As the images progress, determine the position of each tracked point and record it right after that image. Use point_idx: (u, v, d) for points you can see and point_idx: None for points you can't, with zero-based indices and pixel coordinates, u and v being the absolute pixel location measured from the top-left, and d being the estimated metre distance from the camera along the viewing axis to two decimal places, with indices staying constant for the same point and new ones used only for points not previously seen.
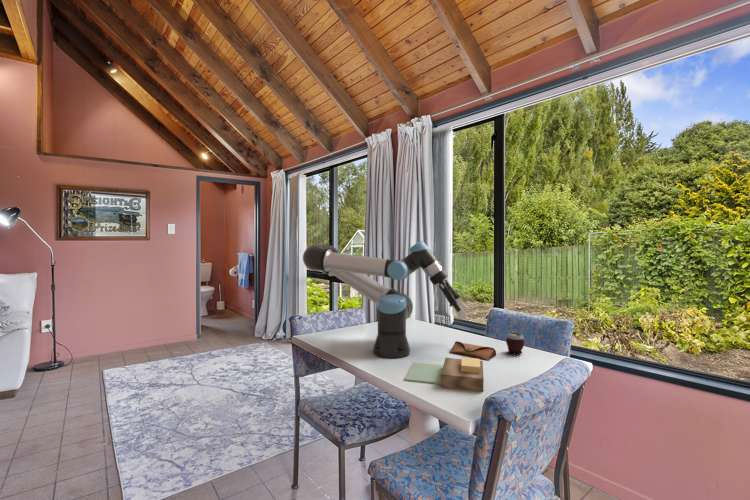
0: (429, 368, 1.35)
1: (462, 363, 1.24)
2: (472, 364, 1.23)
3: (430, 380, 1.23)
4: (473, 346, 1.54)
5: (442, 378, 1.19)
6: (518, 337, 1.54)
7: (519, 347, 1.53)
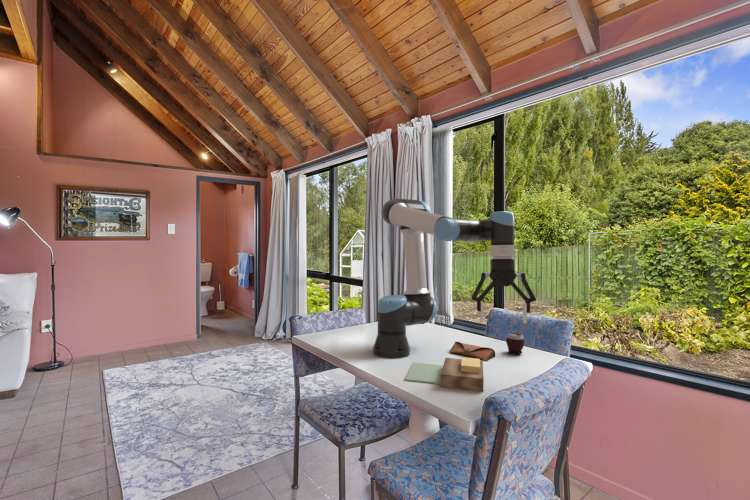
0: (429, 368, 1.35)
1: (462, 363, 1.24)
2: (472, 364, 1.23)
3: (430, 380, 1.23)
4: (472, 346, 1.54)
5: (442, 378, 1.19)
6: (518, 337, 1.54)
7: (519, 347, 1.53)
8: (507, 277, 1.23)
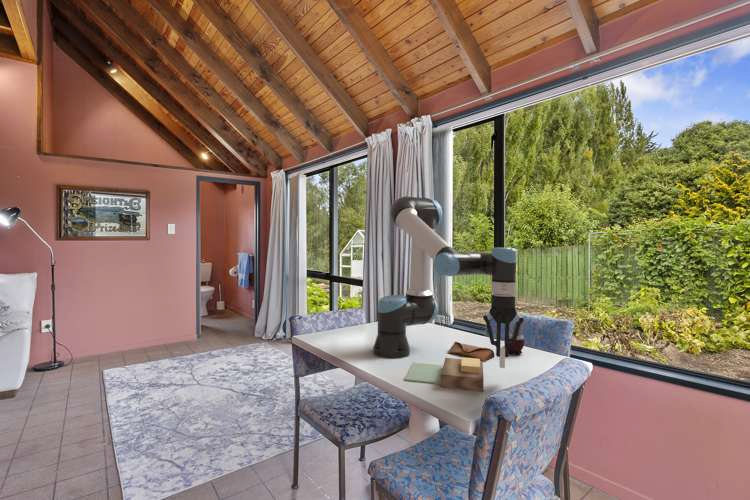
0: (429, 368, 1.35)
1: (462, 363, 1.24)
2: (472, 364, 1.23)
3: (430, 380, 1.23)
4: (471, 347, 1.53)
5: (442, 378, 1.19)
6: (518, 337, 1.54)
7: (519, 347, 1.53)
8: (507, 315, 1.20)
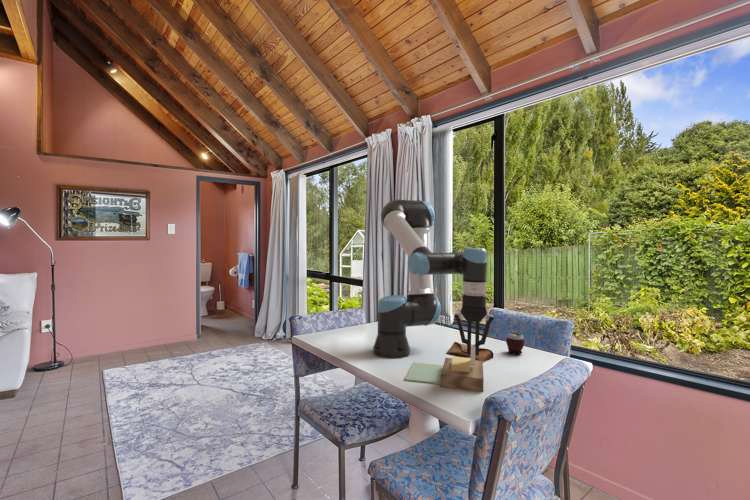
0: (429, 368, 1.35)
1: (452, 362, 1.25)
2: (462, 363, 1.24)
3: (430, 380, 1.23)
4: None
5: (442, 378, 1.19)
6: (518, 337, 1.54)
7: (519, 347, 1.53)
8: (478, 314, 1.23)
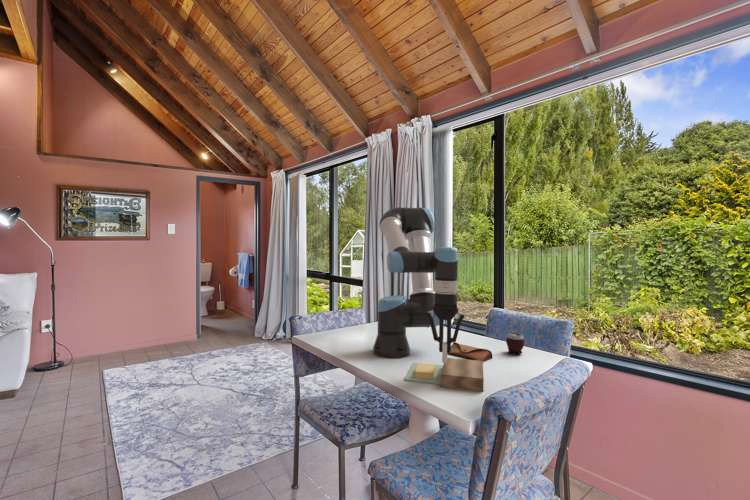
0: None
1: None
2: None
3: (430, 380, 1.23)
4: (469, 347, 1.52)
5: (442, 378, 1.19)
6: (518, 337, 1.54)
7: (519, 347, 1.53)
8: (449, 312, 1.25)
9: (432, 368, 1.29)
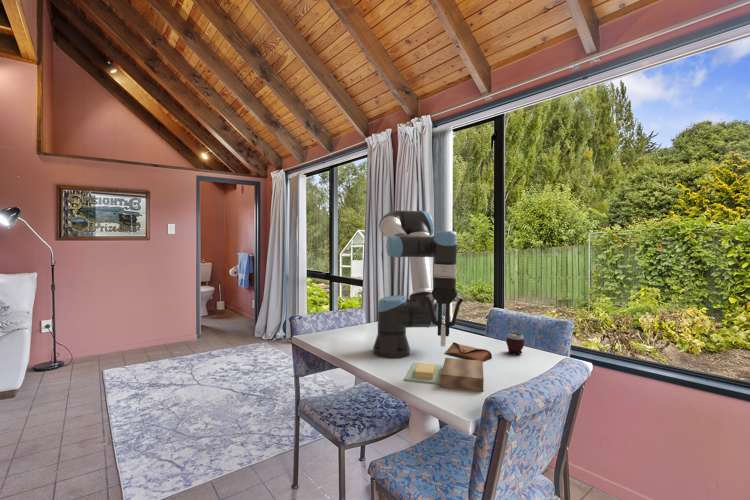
0: None
1: None
2: None
3: (430, 380, 1.23)
4: (468, 348, 1.52)
5: (442, 378, 1.19)
6: (518, 337, 1.54)
7: (519, 347, 1.53)
8: (447, 296, 1.25)
9: (432, 368, 1.29)
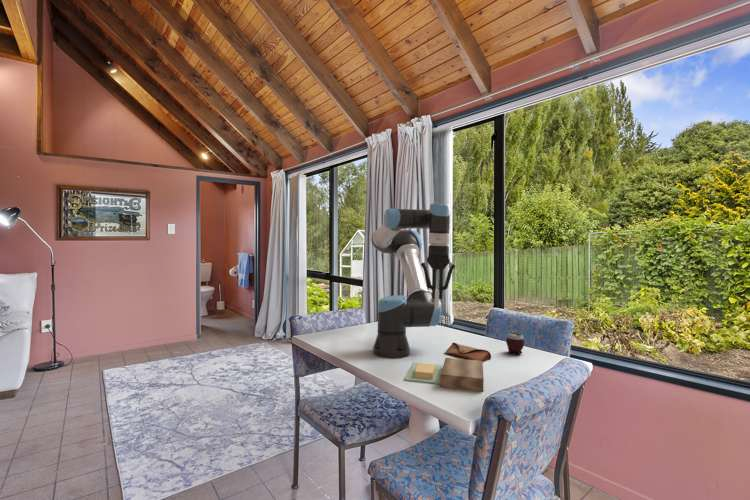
0: None
1: None
2: None
3: (430, 380, 1.23)
4: (468, 348, 1.51)
5: (442, 378, 1.19)
6: (518, 337, 1.54)
7: (519, 347, 1.53)
8: (441, 262, 1.38)
9: (432, 368, 1.29)
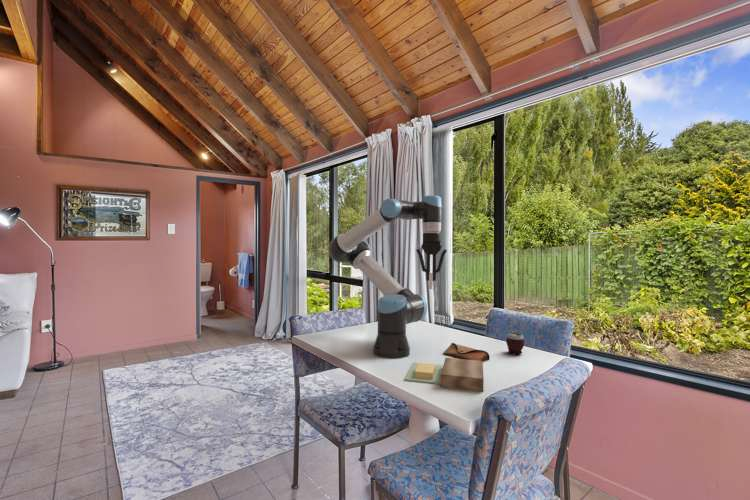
0: None
1: None
2: None
3: (430, 380, 1.23)
4: (466, 348, 1.51)
5: (442, 378, 1.19)
6: (518, 337, 1.54)
7: (519, 347, 1.53)
8: (434, 247, 1.56)
9: (432, 368, 1.29)
